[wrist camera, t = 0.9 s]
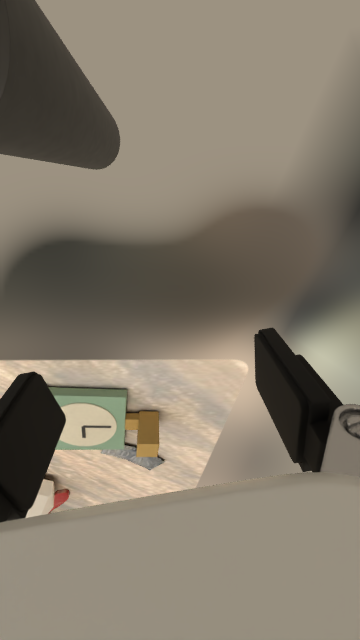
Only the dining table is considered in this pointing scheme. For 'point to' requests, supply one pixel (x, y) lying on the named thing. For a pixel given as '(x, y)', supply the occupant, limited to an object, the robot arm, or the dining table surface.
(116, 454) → the coin fragment
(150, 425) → the clock
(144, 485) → the dining table surface
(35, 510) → the crystal
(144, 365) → the dining table surface
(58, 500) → the steak
